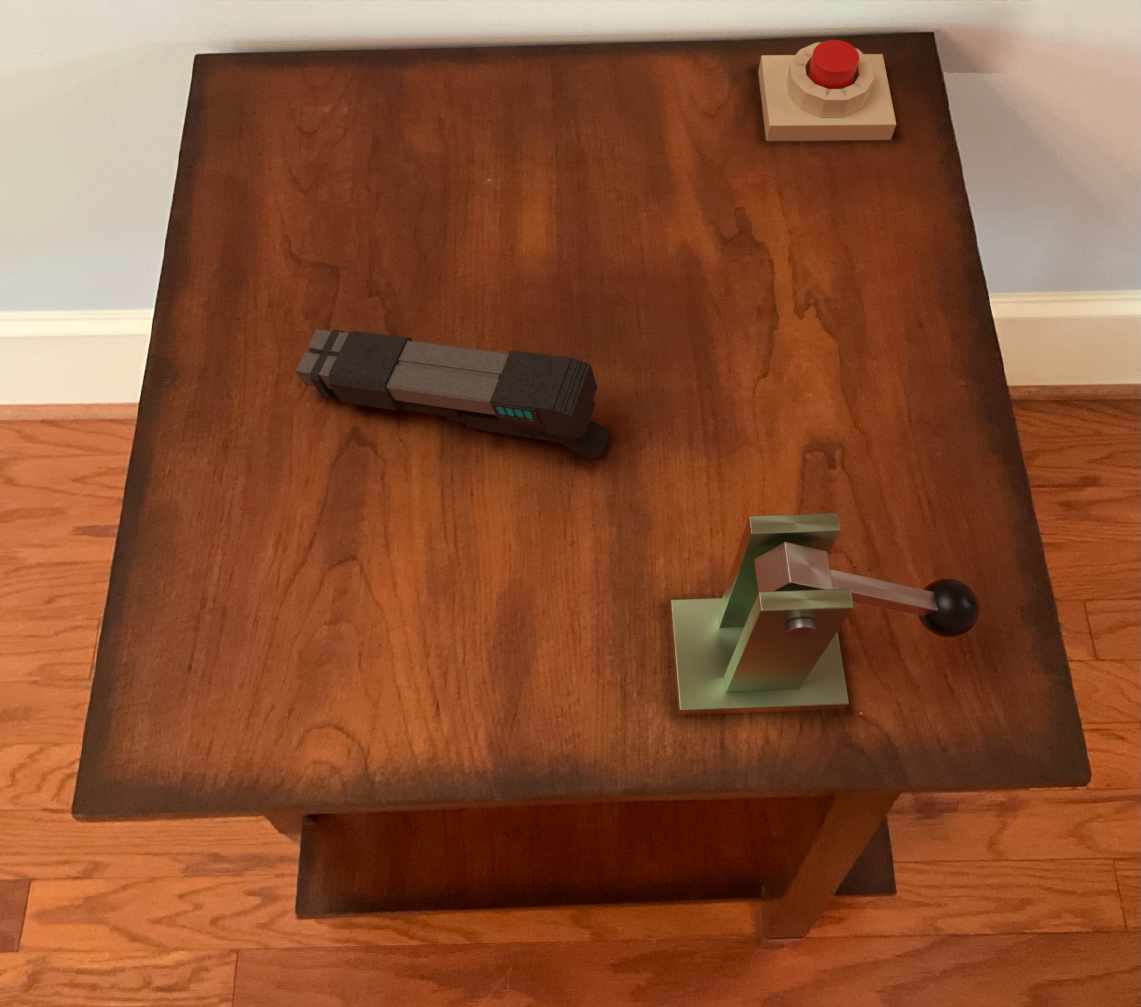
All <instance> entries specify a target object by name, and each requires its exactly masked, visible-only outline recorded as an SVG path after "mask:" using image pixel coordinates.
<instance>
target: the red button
mask: <svg viewBox="0 0 1141 1007" xmlns="http://www.w3.org/2000/svg"><path fill="white" fill-rule="evenodd" d="M821 42H822V43H820V44H818V45H817V46H816V47H815V49H814V50H813V54H812V58H811V62H810V67H809V76H810V79H811V80H812V81H813V82H814V83H815V84H816V85H819V86H822V87H824V88H827V89H842V88H845V87H847V86H848V85H849V84H851V82H852V81H853V79H854V76H855V73H856V69H857V66H858V62H859V54H858V51H857V50H856V49H855V48H856V47H854V46H853V45H852V44H850V43H849V42H846V41H843V40H839V39H827V40H824V41H821Z"/></svg>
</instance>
